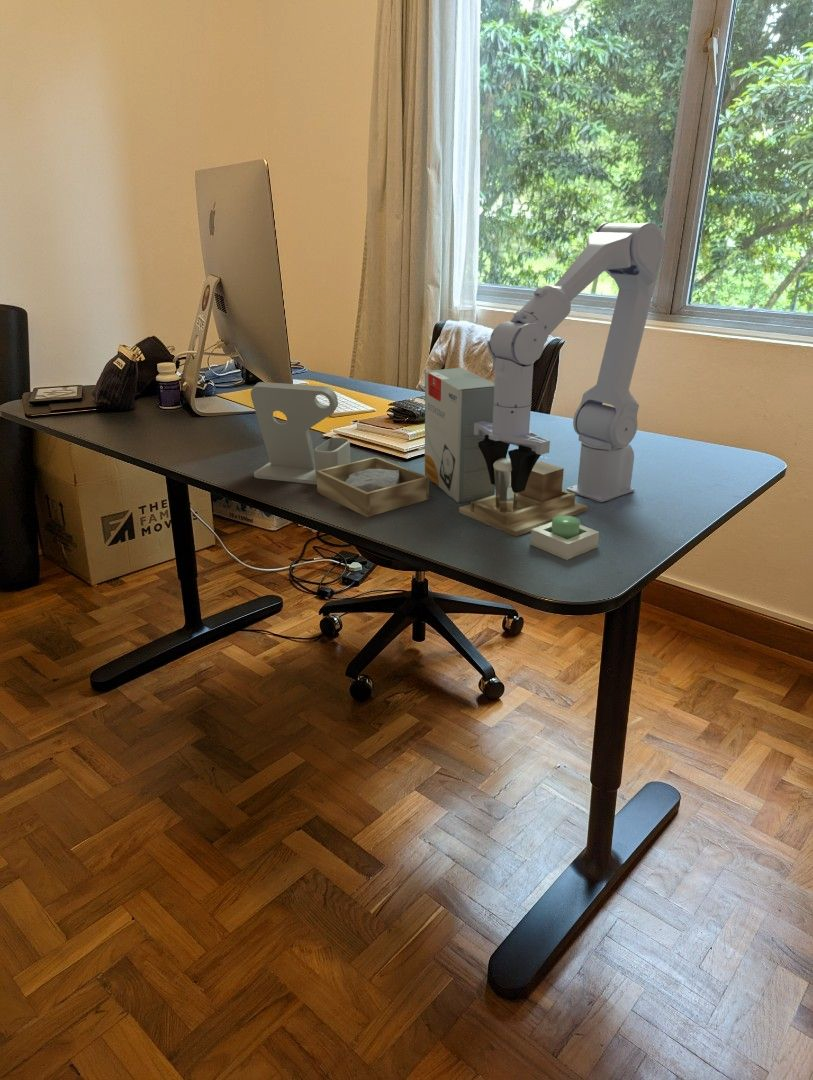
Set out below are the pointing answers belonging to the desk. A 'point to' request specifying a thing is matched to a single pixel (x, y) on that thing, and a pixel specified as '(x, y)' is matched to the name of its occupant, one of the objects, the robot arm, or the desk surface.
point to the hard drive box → (457, 432)
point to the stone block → (374, 479)
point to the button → (565, 526)
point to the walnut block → (544, 482)
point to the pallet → (523, 512)
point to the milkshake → (504, 486)
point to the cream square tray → (564, 541)
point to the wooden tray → (376, 501)
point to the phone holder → (296, 432)
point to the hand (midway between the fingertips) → (507, 487)
